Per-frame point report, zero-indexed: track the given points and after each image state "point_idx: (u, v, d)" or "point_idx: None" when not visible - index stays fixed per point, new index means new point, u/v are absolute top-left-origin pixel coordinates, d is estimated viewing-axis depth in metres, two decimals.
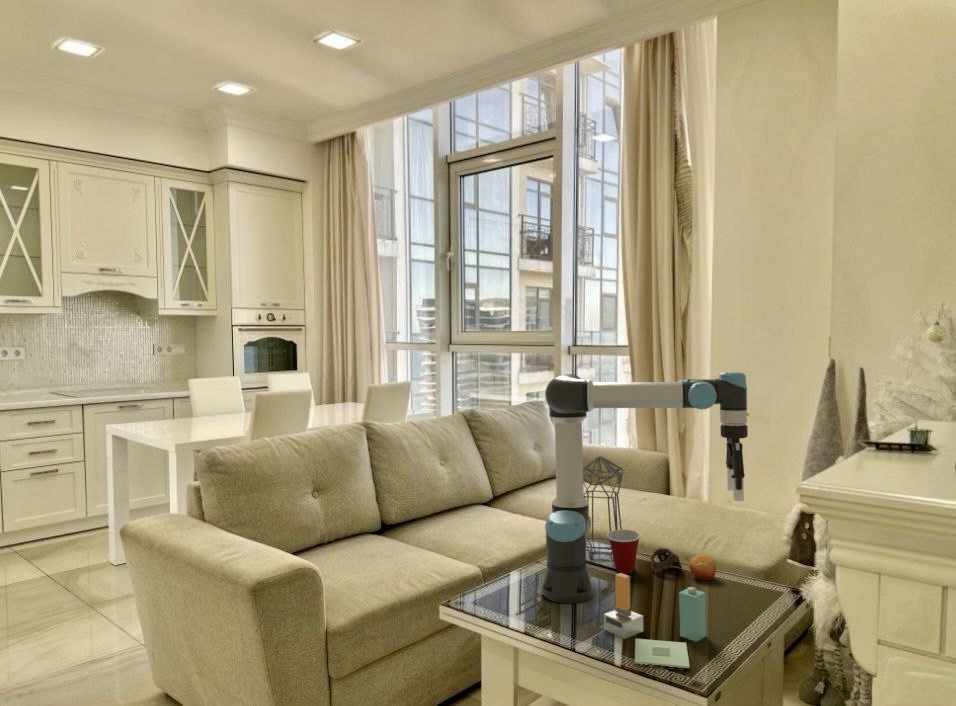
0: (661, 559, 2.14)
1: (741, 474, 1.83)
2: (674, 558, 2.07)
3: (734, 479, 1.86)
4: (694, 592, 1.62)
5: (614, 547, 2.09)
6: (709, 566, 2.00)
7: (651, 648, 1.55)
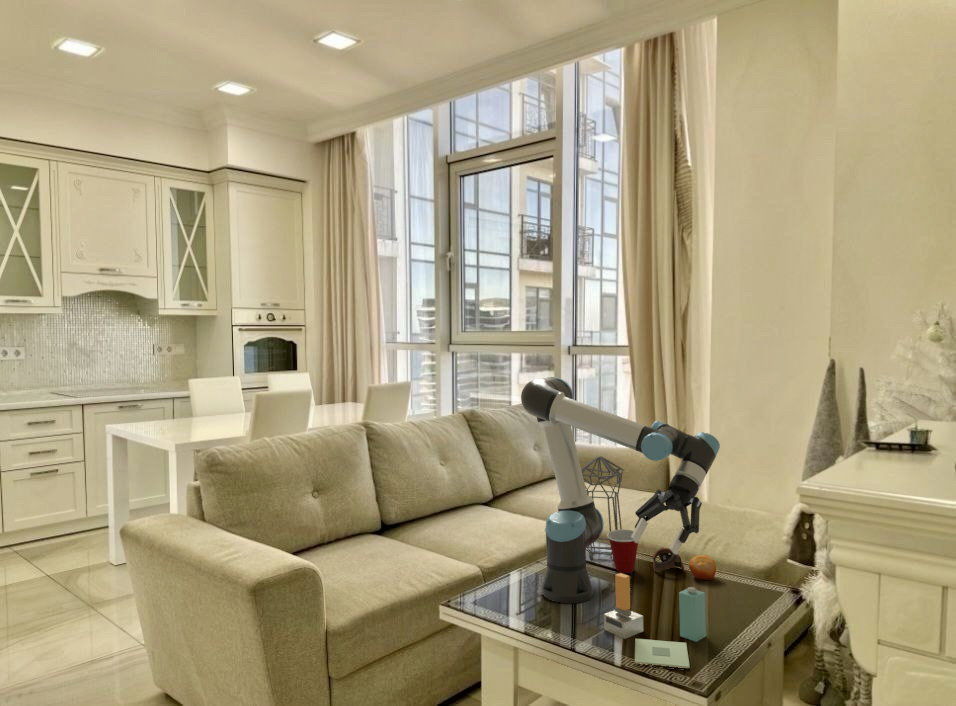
0: (663, 559, 2.14)
1: (697, 529, 1.69)
2: (676, 558, 2.07)
3: (682, 529, 1.70)
4: (694, 592, 1.62)
5: (614, 547, 2.09)
6: (709, 566, 2.00)
7: (651, 648, 1.55)
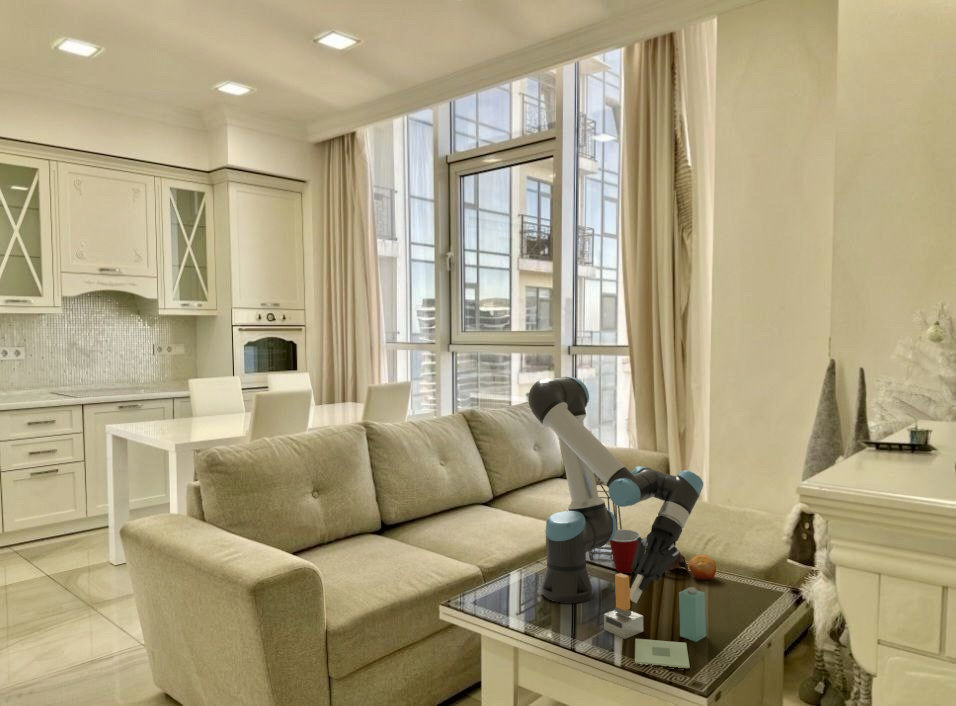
0: None
1: (657, 576, 1.68)
2: (680, 558, 2.07)
3: (642, 577, 1.69)
4: (694, 592, 1.62)
5: (614, 547, 2.09)
6: (709, 566, 2.00)
7: (651, 648, 1.55)
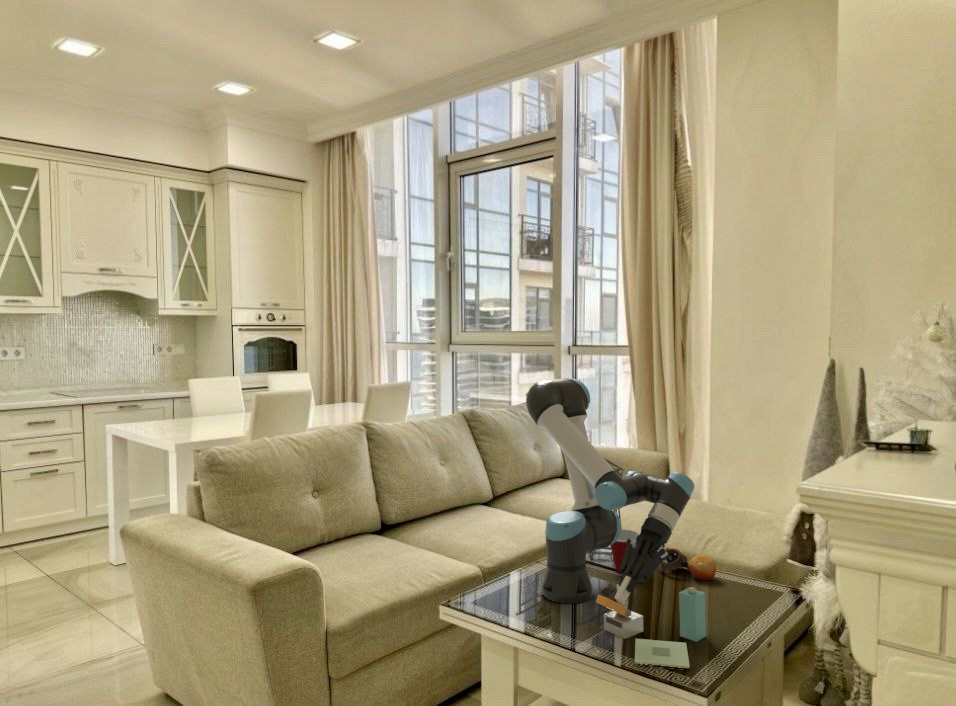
0: (669, 560, 2.13)
1: (645, 578, 1.66)
2: (683, 558, 2.06)
3: (630, 579, 1.67)
4: (694, 592, 1.62)
5: (614, 547, 2.09)
6: (709, 566, 2.00)
7: (651, 648, 1.55)
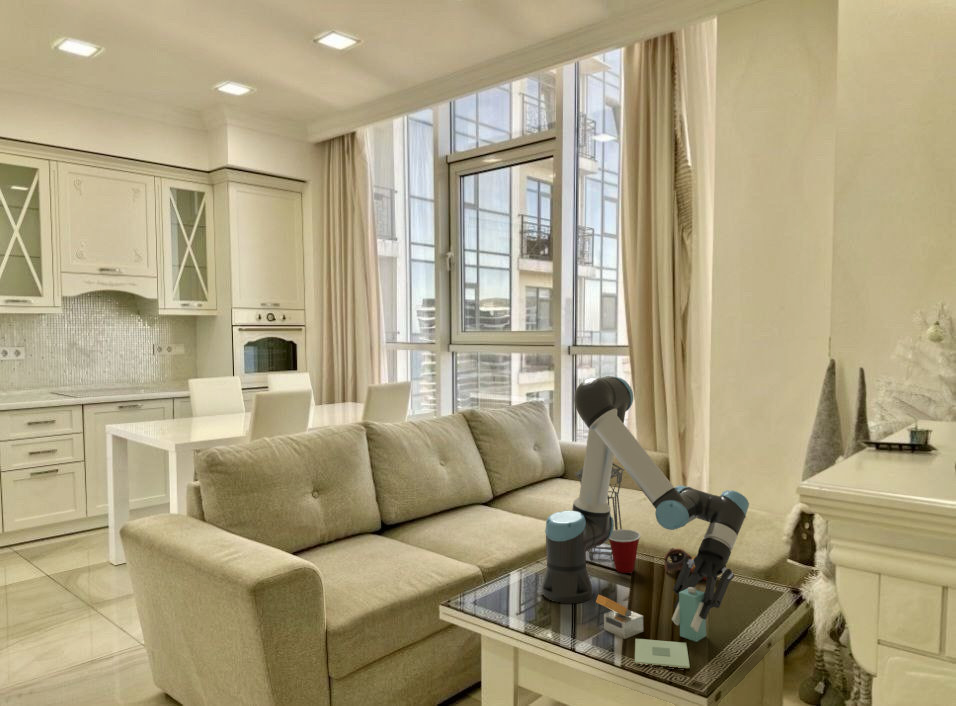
0: (674, 560, 2.13)
1: (718, 603, 1.60)
2: (688, 559, 2.06)
3: (702, 604, 1.60)
4: (694, 592, 1.62)
5: (614, 547, 2.09)
6: None
7: (651, 648, 1.55)
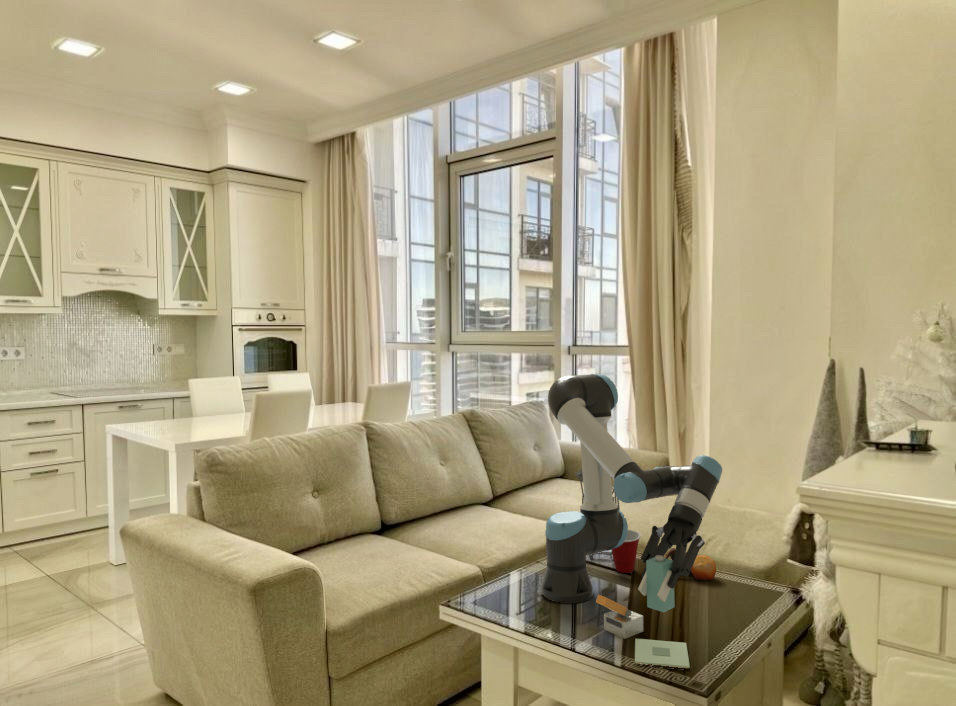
0: None
1: (687, 572, 1.50)
2: None
3: (670, 573, 1.51)
4: (662, 560, 1.52)
5: None
6: (709, 566, 1.99)
7: (651, 648, 1.55)
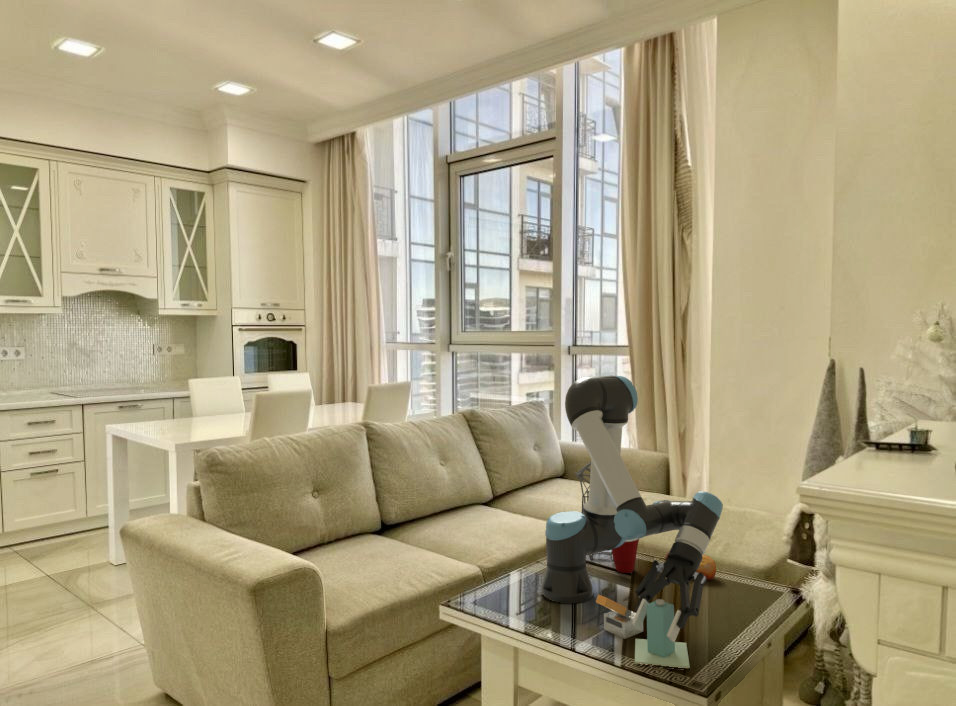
0: None
1: (697, 611, 1.49)
2: None
3: (680, 612, 1.49)
4: (662, 604, 1.52)
5: None
6: (708, 566, 1.99)
7: None
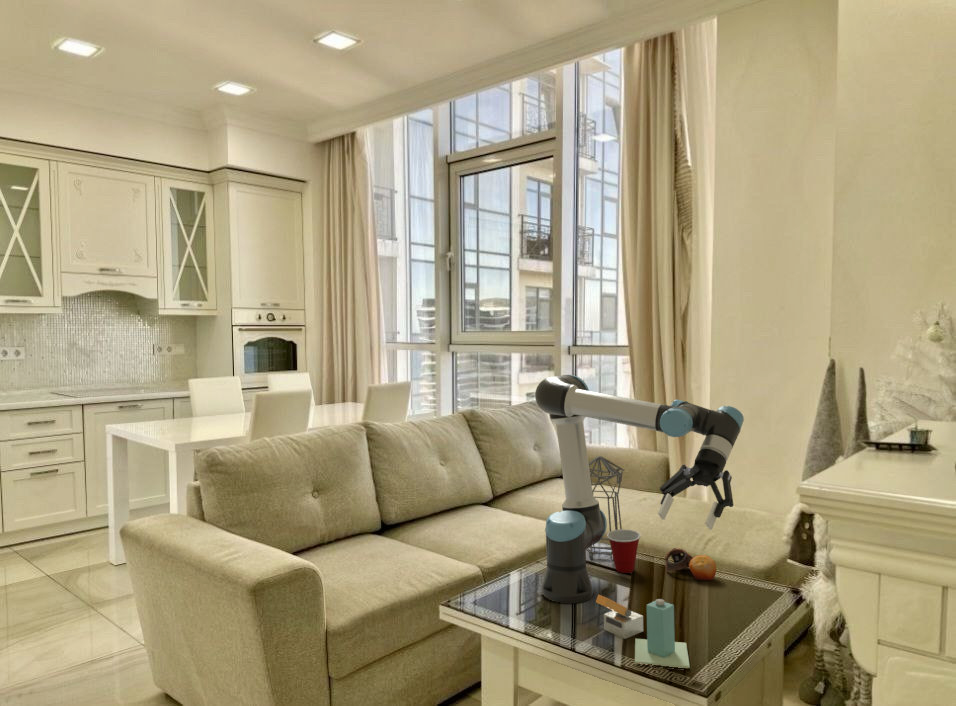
0: (675, 560, 2.13)
1: (732, 502, 1.63)
2: (689, 559, 2.06)
3: (716, 503, 1.64)
4: (662, 604, 1.52)
5: (614, 547, 2.09)
6: (708, 567, 1.99)
7: None
